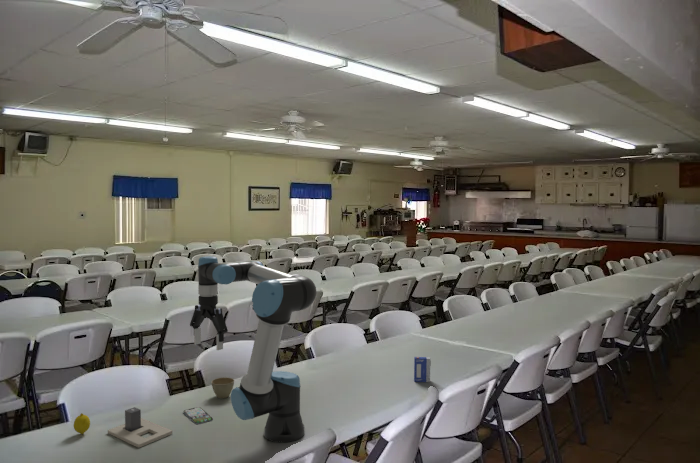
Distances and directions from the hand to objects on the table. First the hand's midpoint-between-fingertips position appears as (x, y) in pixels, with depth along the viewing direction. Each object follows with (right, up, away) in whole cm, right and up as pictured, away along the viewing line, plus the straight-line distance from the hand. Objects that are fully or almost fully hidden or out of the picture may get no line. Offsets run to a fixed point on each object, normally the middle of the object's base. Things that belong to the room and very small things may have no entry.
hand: (208, 346), depth 212 cm
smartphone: (-5, -29, +1) cm, 30 cm away
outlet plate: (-22, -29, -15) cm, 40 cm away
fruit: (-43, -29, -16) cm, 55 cm away
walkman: (+93, -27, +46) cm, 107 cm away
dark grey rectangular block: (-25, -29, -13) cm, 41 cm away
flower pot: (0, -28, +23) cm, 36 cm away
